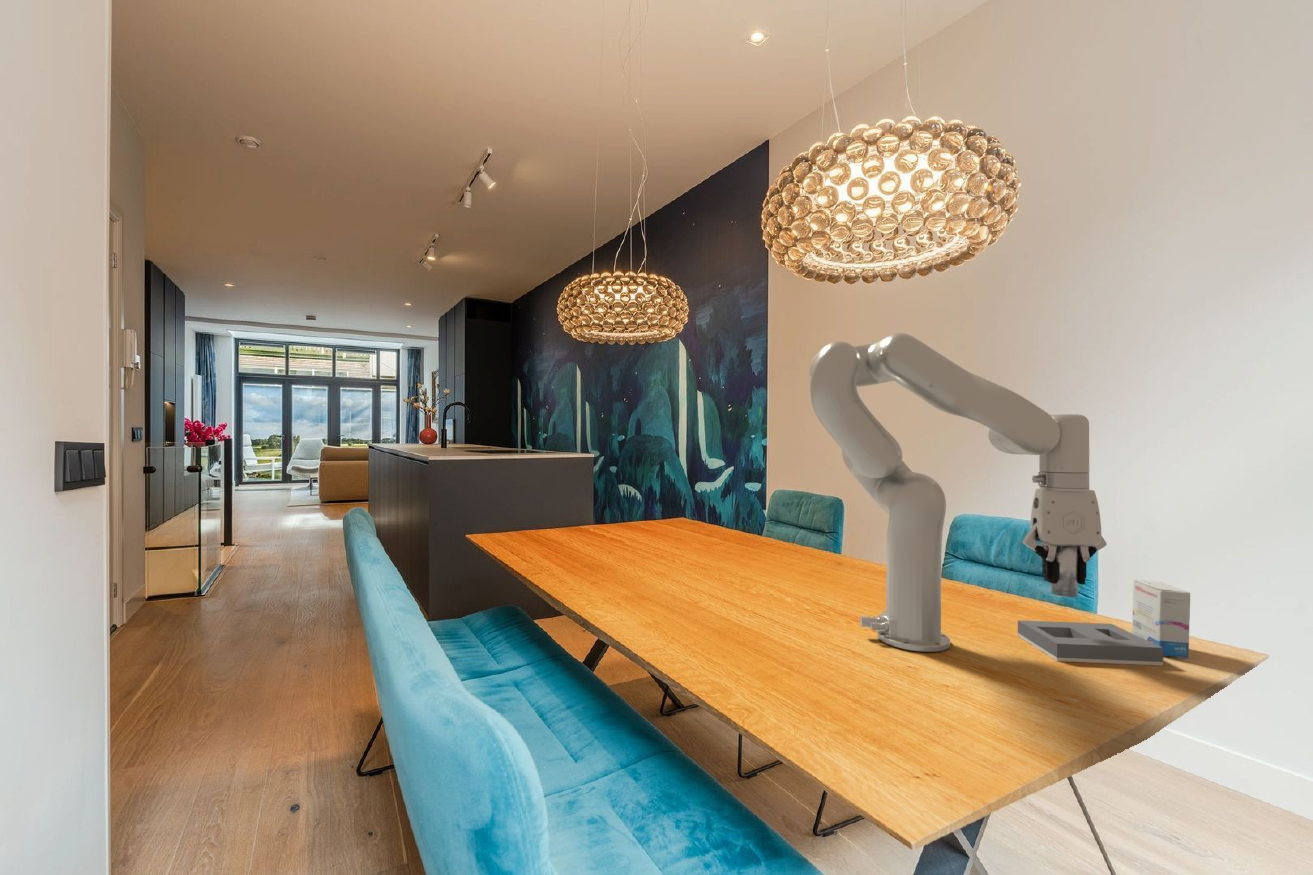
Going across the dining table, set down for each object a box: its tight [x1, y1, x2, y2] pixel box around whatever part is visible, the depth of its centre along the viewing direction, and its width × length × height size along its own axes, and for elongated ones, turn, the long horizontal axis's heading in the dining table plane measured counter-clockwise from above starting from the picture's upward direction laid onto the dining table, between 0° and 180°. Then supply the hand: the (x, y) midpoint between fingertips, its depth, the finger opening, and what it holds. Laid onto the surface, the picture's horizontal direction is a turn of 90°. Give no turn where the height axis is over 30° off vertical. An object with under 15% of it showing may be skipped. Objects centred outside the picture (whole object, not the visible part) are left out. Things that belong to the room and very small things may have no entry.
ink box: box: [1131, 579, 1191, 659], centre depth 108 cm, size 9×5×12 cm, turn 168°
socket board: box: [1017, 620, 1164, 666], centre depth 107 cm, size 17×13×3 cm
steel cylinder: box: [1050, 546, 1079, 598], centre depth 107 cm, size 4×4×13 cm
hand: (1064, 581), depth 107 cm, fingers closed on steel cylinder, 4 cm apart
